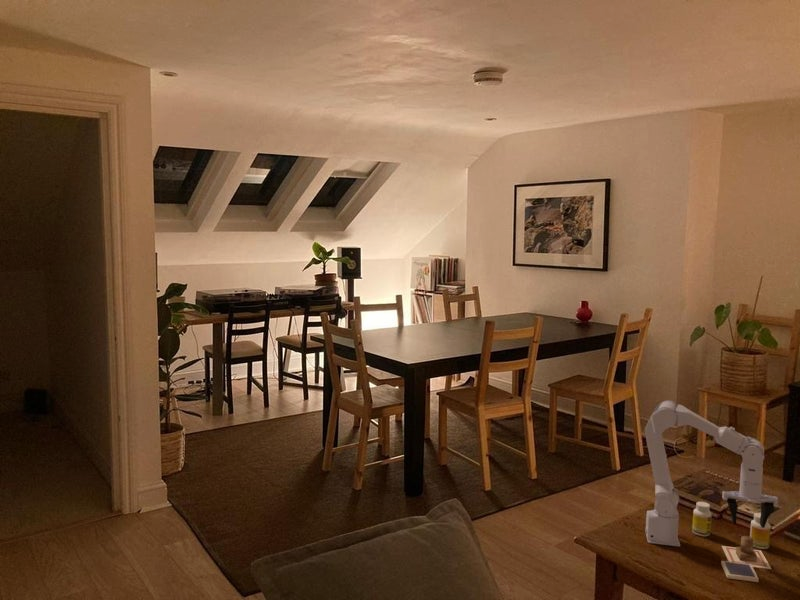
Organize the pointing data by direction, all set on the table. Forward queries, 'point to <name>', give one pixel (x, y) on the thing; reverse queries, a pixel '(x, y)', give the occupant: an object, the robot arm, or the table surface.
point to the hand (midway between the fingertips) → (747, 524)
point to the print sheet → (733, 557)
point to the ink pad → (739, 571)
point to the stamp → (746, 550)
